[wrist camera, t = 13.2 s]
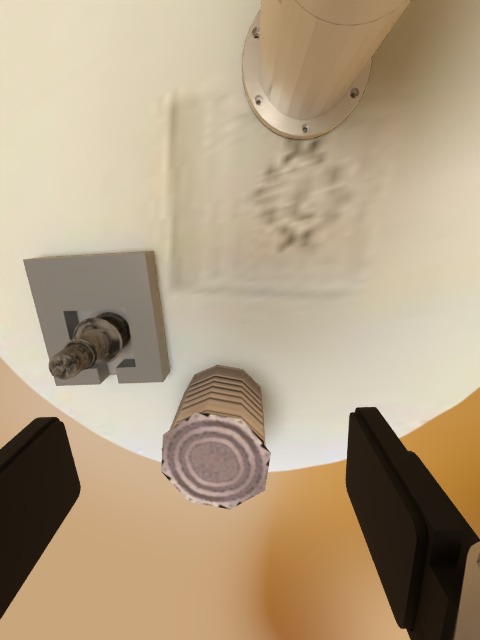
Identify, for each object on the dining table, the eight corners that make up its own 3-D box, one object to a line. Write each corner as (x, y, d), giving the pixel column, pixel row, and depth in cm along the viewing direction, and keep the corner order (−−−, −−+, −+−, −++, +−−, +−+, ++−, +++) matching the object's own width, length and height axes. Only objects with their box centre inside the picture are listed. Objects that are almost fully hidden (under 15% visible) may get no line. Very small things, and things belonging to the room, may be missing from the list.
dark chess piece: (80, 317, 38) (8, 355, 26) (122, 304, 37) (66, 337, 26) (100, 357, 40) (39, 409, 28) (140, 345, 39) (95, 394, 27)
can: (222, 448, 44) (213, 526, 32) (166, 398, 42) (134, 463, 30) (280, 403, 41) (293, 470, 30) (224, 347, 39) (214, 396, 28)
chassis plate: (40, 257, 36) (23, 259, 33) (153, 251, 36) (144, 252, 33) (69, 374, 41) (56, 385, 38) (169, 371, 40) (163, 381, 37)
